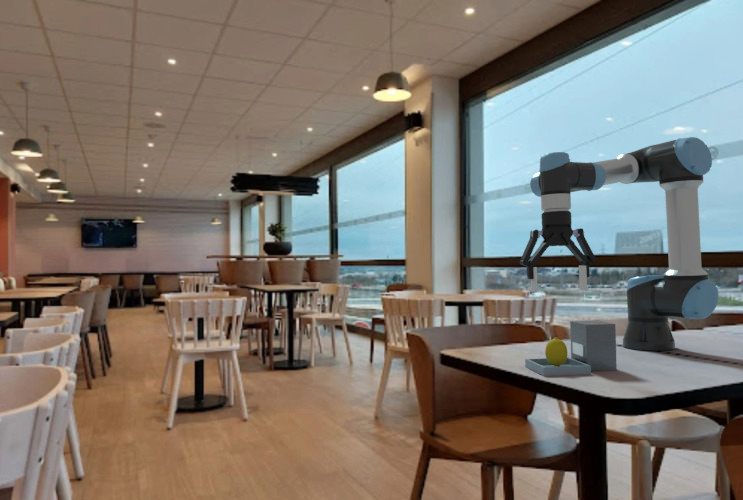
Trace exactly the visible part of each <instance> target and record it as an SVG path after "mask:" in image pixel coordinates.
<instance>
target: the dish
mask: <svg viewBox="0 0 743 500" xmlns="http://www.w3.org/2000/svg"><path fill="white" fill-rule="evenodd" d="M524 364H525V368H527V369H529V370H531V371H533V372H535V373H537V374H539V375H542V376H543V377H551V376H578V375H580V376H581V375H592V371H591V366H590V365H587V364H585V363H582V362H580V361H577V360H574V359H572V358H571V357H568V356H567V360H566V361H565V363H564V364H562V365H560V366H557V367H554V365H552V364H550V363H549V362H548V360H547V358H546V357H545V358H540V357H538V358H525V359H524Z"/></svg>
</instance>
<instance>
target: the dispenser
mask: <svg viewBox="0 0 743 500" xmlns="http://www.w3.org/2000/svg"><path fill="white" fill-rule="evenodd" d="M569 323H570V325H569V327H570V356H571V357H570V358H572V359H574V360H577V361H580V362H582V363H585V364H587V365H590V366H591V372H600V371H601V372H602V371H603V372H605V371H617V337H616V334H617V332H616V330H617V329H616V323H612V322H608V321H603V320H599V319H598V320H597V319H596V320H593V319H592V320H570V321H569Z"/></svg>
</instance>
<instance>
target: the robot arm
mask: <svg viewBox="0 0 743 500" xmlns="http://www.w3.org/2000/svg"><path fill="white" fill-rule="evenodd" d="M569 155H570V154H569V153H567V152H564V151H555V152H548V153H544V154H543V155H541V156H540V159H539V160H540V161H539V172H536V173H534V175H532V177H531V179H530V184H529V185H530V189H531V192H532V193H533V194H534V196H537V197H539V198H540V202H541V203H540V205H541V206H540V207H541V211H543V212H541V226H542V227H541V228H542V229H541V230H538V229H532V230H530V234H529V240H528V242H527V244H526V247H525V249H524V252H523V253H522V256H521V258H520V260H519V265H522V266H525V267H526V278H527V279H528V280H530V292H531V293H532V292H533V293H538V292H539V291H538V289H539V288H538V268H537V266H535V265H536V264H537V263H538V261H539V259H540V258H541V257H542V256H543V254H544V253H545V251H547V249H548V248H549V247H563V246H564V247H566V248H567V249H568V250H569V252H571V253H572V255H573V256H574V257H575V258H576V259H577V261H579V263H580V264H581V265H578V279H579V282H578V283H579V285H578V286H579V290H580V291H588V280H587V279H588V278H590V276H591V275H590V266H591V265H592V264H594V263H596V262H597V258H596V256H595V254H594V253H593V250H592V249H591V247H590V245H589V242H588V241H587V238H586V237H585V232H584V229H583V228H575V229H573V228H572V212H571V211H569V210H570V209H572V204H571V202H572V201H571V193H574V192H579V191H587V192H590V191H598V190H600V189H601V188H602V187H603V186H606V185H608V186H609V185H611V184H617V183H621V184H624V185H629V184H634V183H637V184H639V183H655V182H656V183H657V182H659V183H658V184H659V187H660V188H661V189H663V190H664V193H665V212H666V215H665V216H666V231H667V232H666V233H667V253H668V269H667V270H666V271H665V273H663V274H653V275H644V276H643V275H642V276H635V277H630V278H629V279H628V280H627V283H626V286H627V287H626V288H627V289H626V304H627V325H626V328H625V332H624V334H623V338H622V347H624V348H625V349H626V348H627V349H631V350H639V351H654V352H655V351H663V352H664V351H671V350H675V349H676V342H675V339H674V336H673V333H672V331H671V328H670V325H669V318H677V319H678V318H679V319H680V318H681V319H686V320H703V319H706V318H708V317H710V316H711V315H712V314H713V312H714V311H715V309H716V308H717V306H718V302H719V289H718V287H717V286H716V283H715V282H714V281H711V280H710V279H709V274H708V272H707V271H706V270H704V269H703V268H702V252H701V251H702V250H701V249H702V248H701V230H700V210H699V209H700V208H699V191H698V190H699V187H700V186H701V185H702V184H703V183H704V175H706V174H707V173H709V172H710V170H711V168H712V165H713V157H712V153H711V150H710V149H709V147H708V145H707V144H705V142H704V141H703V140H702V139H700V138H698V137H695V136H690V137H682V138H677V139H673V140H669V141H665V142H661V143H657V144H652V145H649V146H645V147H642V148H640V149H637V150H634V151H630V152H628V153H623V154H620V155H618V156H617V157H616V158H613V159H606V160H600V161H595V162H580V161H578V162H577V161H575V162H574V161H571V159H570V156H569ZM540 237H542V239H543V240H542V241H541V243H540V244H539V246H538V248H537V249H536V250H535V252H534V253H533V250H534V249H535V246H536V244H537V242H538V239H540ZM572 237H574V238H576V242H577V243H578V245H579V247H580V248H581V250H580V249H579V248H578V246H577V245H576V244H575V242H574V241H573V240H572Z"/></svg>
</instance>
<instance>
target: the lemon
mask: <svg viewBox="0 0 743 500" xmlns="http://www.w3.org/2000/svg"><path fill="white" fill-rule="evenodd" d="M544 350H545V351H544V352H545V358H547V360H548V362H549V363H550V364H552V365H554V367H557V366H560V365H562V364H564V363H565V361H566V360H567V357H568V349H567V344H566V343H565V341H563V340H561V339H559V338H558V337H553V339H550V340H549V341H548V342H547V343H546V346H545V349H544Z"/></svg>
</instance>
